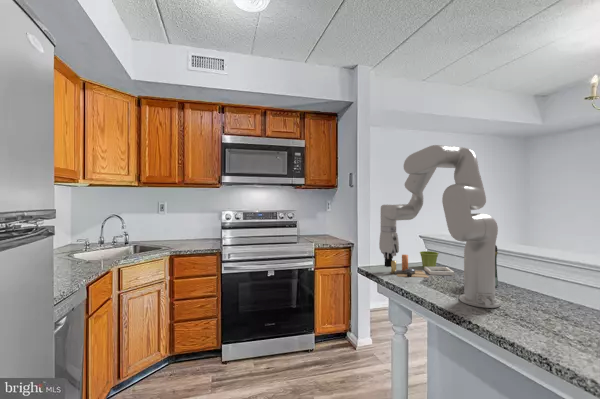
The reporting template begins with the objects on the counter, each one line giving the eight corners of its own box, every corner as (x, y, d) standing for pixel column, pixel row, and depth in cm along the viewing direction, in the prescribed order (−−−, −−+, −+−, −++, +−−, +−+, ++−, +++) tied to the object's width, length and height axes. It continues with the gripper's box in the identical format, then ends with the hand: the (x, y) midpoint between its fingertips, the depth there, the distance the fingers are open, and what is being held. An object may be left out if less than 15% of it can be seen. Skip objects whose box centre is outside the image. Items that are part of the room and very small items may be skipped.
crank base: (429, 279, 139) (429, 273, 139) (397, 278, 141) (397, 272, 141) (421, 272, 153) (421, 266, 153) (393, 271, 155) (392, 265, 155)
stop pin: (408, 271, 150) (408, 255, 150) (402, 271, 151) (402, 255, 151) (407, 270, 153) (407, 254, 153) (401, 270, 154) (401, 254, 154)
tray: (454, 277, 143) (454, 272, 143) (430, 276, 144) (430, 271, 144) (446, 271, 154) (446, 267, 154) (424, 271, 155) (424, 266, 155)
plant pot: (442, 269, 159) (442, 253, 159) (431, 271, 154) (431, 254, 154) (427, 266, 167) (427, 250, 167) (415, 268, 162) (415, 252, 162)
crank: (413, 271, 149) (412, 259, 149) (416, 273, 144) (416, 261, 145) (389, 271, 149) (389, 259, 149) (392, 274, 144) (392, 261, 144)
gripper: (404, 230, 144) (404, 269, 144) (385, 227, 158) (385, 262, 158) (391, 231, 141) (391, 270, 142) (373, 228, 155) (373, 263, 156)
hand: (388, 266), depth 150 cm, fingers closed
